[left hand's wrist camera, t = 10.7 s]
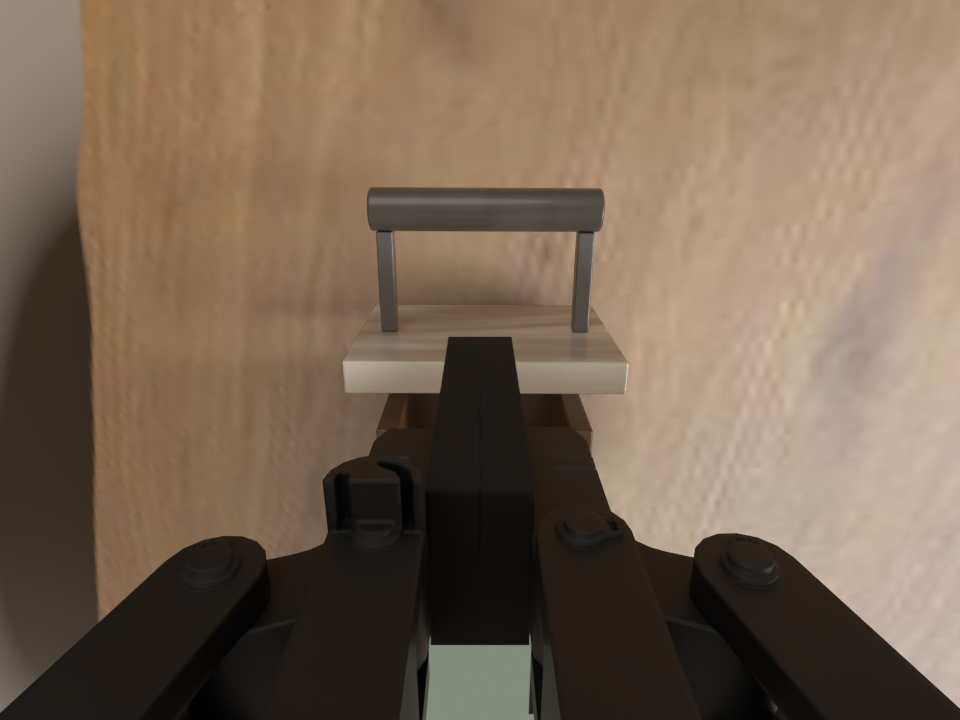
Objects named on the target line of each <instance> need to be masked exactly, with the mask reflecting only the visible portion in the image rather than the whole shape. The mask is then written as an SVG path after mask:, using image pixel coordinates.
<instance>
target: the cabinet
mask: <svg viewBox="0 0 960 720" xmlns="http://www.w3.org/2000/svg"><path fill="white" fill-rule="evenodd" d="M429 667H430V680H429V691H428V702H427V713H426V720H534V714H529V692H530V667H531V639H529V645H431V639H430V642H429Z"/></svg>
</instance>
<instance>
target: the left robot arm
mask: <svg viewBox="0 0 960 720" xmlns="http://www.w3.org/2000/svg"><path fill="white" fill-rule="evenodd" d="M595 468H596V467H595V464H594V461H593V458H592V457H591V452H590V449H589V446H588V443H587V440H586V439H585V438H584V437H583V436H582V435H580V434H579V433H578V432H577V431H576V430H574V429H573V428H572V427H525V422H524V415H523V409H522V402H521V395H520V389H519V382H518V376H517V369H516V363H515V356H514V350H513V343H512V337H448V343H447V350H446V356H445V363H444V369H443V376H442V382H441V389H440V395H439V402H438V409H437V415H436V422H435V428H434V429H388V430H387V431H386V432H384V433H383V434H382V435H381V436H380V437H379V438H377V439H376V440H375V441H374V443H373V446H372V449H371V452H370V455H369V456H368V457H360V458H357V459H354V460H350V461H347V462H344V463H342V464H341V465H339V466H337V467H336V468H334V469H332V470H331V471H330V472H329V473H328V474H327V476H326V477H325V478H324V479H323V489H324V498H325V507H326V517H327V526H328V534H327V537H326V539H325V542H324V544H322V545H320V546H317V547H315V548H313V549H311V550H307V551H304V552H301V553H297V554H293V555H288V556H284V557H279V558H275V559H270V560H266V553H265V550H264V549H263V548H262V547H261V546H260V545H259V543H258V542H257V541H254V540H251V539H248V538H245V537H241V536H222V537H216V538H211V539H207V540H203V541H200V542H198V543H196V544H193V545H191V546H188V547H186V548H184V549H182V550H181V551H179V552H178V553H176V554H175V555H174V556H172V557H171V558H169V559H168V560H167V561H166V562H164V563H163V564H162V565H161V566H160V567H159V568H158V569H157V570H156V571H155V572H154V573H152V574H151V575H150V576H149V577H148V578H147V579H146V580H145V581H144V582H143V583H142V584H140V585H139V586H138V587H137V588H136V589H135V590H134V591H133V592H132V593H131V594H130V595H128V596H127V597H126V598H125V599H124V600H123V601H122V602H121V603H120V604H119V605H118V606H116V607H115V608H114V609H113V610H112V611H111V612H110V613H109V614H108V615H107V616H106V617H104V618H103V619H102V620H101V621H100V622H99V623H98V624H97V625H96V626H95V627H94V628H92V629H91V630H90V631H89V632H88V633H87V634H86V635H85V636H84V637H83V638H82V639H80V640H79V641H78V642H77V643H76V644H75V645H74V646H73V647H72V648H71V649H70V650H69V651H67V652H66V653H65V654H64V655H63V656H62V657H61V658H60V659H59V660H58V661H57V662H55V663H54V664H53V665H52V666H51V667H50V668H49V669H48V670H47V671H46V672H45V673H43V674H42V675H41V676H40V677H39V678H38V679H37V680H36V681H35V682H34V683H33V684H31V685H30V686H29V687H28V688H27V689H26V690H25V691H24V692H23V693H22V694H21V695H20V696H18V697H17V698H16V699H15V700H14V701H13V702H12V703H11V704H10V705H9V706H7V707H6V708H5V709H4V710H3V711H2V712H1V713H0V720H426V713H427V702H428V691H429V680H430V667H429V642H430V639H431V645H529V639H531V667H530V692H529V714H534V720H960V708H959V707H958V706H956V705H955V704H954V703H953V702H952V701H951V700H950V699H949V698H948V697H947V696H945V695H944V694H943V693H942V692H941V691H940V690H939V689H938V688H937V687H936V686H934V685H933V684H932V683H931V682H930V681H929V680H928V679H927V678H926V677H925V676H923V675H922V674H921V673H920V672H919V671H918V670H917V669H916V668H915V667H914V666H912V665H911V664H910V663H909V662H908V661H907V660H906V659H905V658H904V657H903V656H901V655H900V654H899V653H898V652H897V651H896V650H895V649H894V648H893V647H892V646H890V645H889V644H888V643H887V642H886V641H885V640H884V639H883V638H882V637H881V636H880V635H878V634H877V633H876V632H875V631H874V630H873V629H872V628H871V627H870V626H869V625H867V624H866V623H865V622H864V621H863V620H862V619H861V618H860V617H859V616H858V615H856V614H855V613H854V612H853V611H852V610H851V609H850V608H849V607H848V606H847V605H845V604H844V603H843V602H842V601H841V600H840V599H839V598H838V597H837V596H836V595H834V594H833V593H832V592H831V591H830V590H829V589H828V588H827V587H826V586H825V585H823V584H822V583H821V582H820V581H819V580H818V579H817V578H816V577H815V576H814V575H812V574H811V573H810V572H809V571H808V570H807V569H806V568H805V567H804V566H803V565H801V564H800V563H799V562H798V561H797V560H796V559H795V558H794V557H792V556H791V555H790V554H788V553H787V552H785V551H784V550H782V549H781V548H779V547H778V546H776V545H774V544H772V543H769V542H767V541H764V540H762V539H760V538H757V537H752V536H747V535H742V534H737V533H732V534H716V535H713V536H710V537H708V538H705V539H703V540H702V541H701V542H700V543H699V544H698V546H697V547H696V548H695V553H694V558H693V557H688V556H684V555H679V554H674V553H670V552H665V551H661V550H658V549H655V548H651V547H648V546H646V545H644V544H642V543H640V542H637V541H636V540H635V538H634V536H633V533H632V531H631V530H630V528H629V527H628V525H627V524H626V522H625V521H624V520H623V519H621V518H620V517H618V516H617V515H616V514H614V513H613V512H611V511H610V508H609V505H608V502H607V499H606V496H605V493H604V490H603V487H602V484H601V481H600V478H599V476H598V473H597V470H596V469H595Z"/></svg>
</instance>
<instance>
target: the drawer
mask: <svg viewBox="0 0 960 720" xmlns="http://www.w3.org/2000/svg"><path fill="white" fill-rule="evenodd" d="M604 211H605V200H604V194H603V190H602V189H600V188H406V187H372V188H370V189H369V191H368V195H367V216H368V223H369V226H370V229H371V230H373V231H377V232H376V240H377V258H378V276H379V294H380V305H376V306H375V308H374V309H373V311H372V313H371V314H370V316H369V318H368V319H367V321H366V323H365V324H364V326H363V328H362V330H361V331H360V333H359V335H358V336H357V338H356V340H355V341H354V343H353V345H352V346H351V348H350V350H349V351H348V353H347V355H346V357H345V358H344V360H343V362H342V366H343V379H344V391H345V393H389V396H388V399H387V402H386V405H385V407H384V410H383V413H382V416H381V419H380V422H379V425H378V428H377V438H379V437H380V436H381V435H382V434H383V433H384V432H386V431H387V430H388V429H434V428H435V422H436V415H437V409H438V402H439V395H440V389H441V382H442V376H443V369H444V363H445V356H446V350H447V343H448V337H512V343H513V350H514V356H515V363H516V369H517V376H518V382H519V389H520V395H521V402H522V409H523V415H524V422H525V427H572V428H573V429H574V430H576V431H577V432H578V433H579V434H580V435H582V436H583V437H584V438H585V439H586V440H587V443H588V446H589V449H590V452H591V449H592V436H593V431H592V428H591V426H590V423H589V420H588V418H587V415H586V412H585V410H584V407H583V404H582V402H581V399H580V396H579V394H625V393H626V385H627V375H628V365H629V364H628V361H627V360H626V358H625V357H624V355H623V354H622V352H621V351H620V349H619V347H618V346H617V344H616V343H615V341H614V340H613V338H612V336H611V335H610V333H609V332H608V330H607V329H606V327H605V326H604V324H603V322H602V321H601V319H600V318H599V316H598V315H597V313H596V311H595V310H594V308H593V307H592V306H590V295H591V281H592V267H593V253H594V239H595V233H594V232H598V231H600V230H601V228H602V225H603V220H604ZM394 231H504V232H576V249H575V265H574V282H573V298H572V306H542V305H398V304H397V282H396V259H395V237H394Z"/></svg>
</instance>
